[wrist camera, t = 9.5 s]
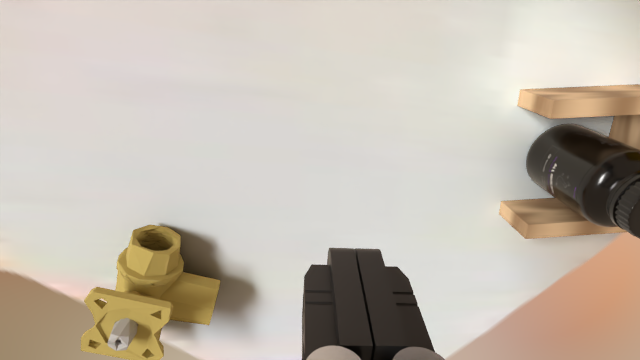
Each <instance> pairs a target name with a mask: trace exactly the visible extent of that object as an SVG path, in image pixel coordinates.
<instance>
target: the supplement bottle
mask: <svg viewBox="0 0 640 360" xmlns="http://www.w3.org/2000/svg"><path fill="white" fill-rule="evenodd" d="M526 167H527V172H528V174H529V176H530V178H531V179H532V180H533V181H534V182H535V183H536V184H537V185H539V186H540V187H541V188H543V189H544V190H545V191H547V192H548V193H550V194H551V195H552V196H554V197H555V198H557V199H558V200H559V201H561V202H562V203H564V204H565V205H567V206H568V207H569V208H571V209H572V210H574V211H575V212H576V213H578V214H579V215H581V216H582V217H583V218H585V219H586V220H588V221H590V222H591V223H593V224H596V225H598V226H603V227H620V228H621V229H623V230H626V231H627V232H629V233H630V234H632V235H634V236H636V237H638V238H640V150H639V149H637V148H634V147H632V146H629V145H627V144H625V143H622V142H620V141H617V140H615V139H612V138H610V137H607V136H605V135H602V134H600V133H597V132H595V131H593V130H590V129H588V128H585V127H582V126H579V125H576V124H562V125H558V126H555V127H552V128H550V129H548V130H547V131H545V132H544V133H542V134H541V135H540V136H539V137H538V138H537V139H536V140H535V141H534V143H533V144H532V146H531V148H530V150H529V152H528V155H527V160H526Z"/></svg>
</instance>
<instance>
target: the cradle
mask: <svg viewBox="0 0 640 360" xmlns="http://www.w3.org/2000/svg"><path fill="white" fill-rule="evenodd" d="M518 106H520V107H522V108H525V109H527V110H530V111H532V112H535V113H537V114H540V115H542V116H545V117H547V118H550V119H555V118H576V117H597V116H614V119H613V123H612V127H611V130H610V134H609V137H610V138H612V139H615V140H617V141H620V142H622V143H625V144H627V145H629V146H632V147H634V148H637V149H639V150H640V85H615V86H592V87H568V88H545V89H522V90H520V94H519V100H518ZM499 214H500V215H501V216H502V217H503V218H504V219H505V220H506V221H507V222H508V223H509V224H510V225H511V226H512V227H513V228H515V229H516V230H517V231H518V232H519V233H520V234H521V235H522V236H523V237H524V238H525V239H531V238H546V237H561V236H576V235H590V234H605V233H620V232H627V231H626V230H623V229H621V228H620V227H603V226H598V225H596V224H593V223H591V222H590V221H588V220H586V219H585V218H583V217H582V216H581V215H579V214H578V213H576V212H575V211H574V210H572V209H571V208H569V207H568V206H567V205H565V204H564V203H562V202H561V201H559V200H558V199H557V198H545V199H529V200H513V201H501V206H500V212H499Z"/></svg>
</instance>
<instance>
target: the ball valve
mask: <svg viewBox="0 0 640 360" xmlns="http://www.w3.org/2000/svg"><path fill="white" fill-rule="evenodd" d="M180 236H181V235H179V234H178V233H176V232H174V231H173V230H171V229H170V228H168V227H162V226H155V225H148V226H145V227H142V228H138V229H135V230H133V233H132V236H131V240H130V243H129V246H128V248H126V249H125V250H124V251H123V252H122V253H121V254H120V255H119V257H118V261H117V270H118V275H117V284H116V290H115V291H114V290H110V289H105V288H100V287H96V288H94V289H92V290H91V291H90V293H89V294H88V296H87V297H86V298H85V300H84V302H85V303H86V305H87V306H88V308H89V309H90V311H91V313H92V314H93V318H94V321H95V325H94V327H93V328H91V329H89V330H88V331H86V332H85V333H84V335H83V336H82V337H81V351H86V352H91V353H96V354H103V355H108V356H113V357H118V358H124V359H129V360H160V359H161V358H162V357H163V356H164V350H163V345H162V344H161V342H160V341H159V339H160V334H161V329H162V327H163V326H164V325H165V324H166V323H168V322H169V320H175V321H183V322H191V323H198V324H206V325H209V323H210V320H211V317H212V313H213V310H214V306H215V302H216V298H217V294H218V290H219V286H220V281H221V280H217V279H212V278H208V277H203V276H198V275H194V274H189V273H185V272H183V266H184V261H183V259H182V257H181V255H180V254H179V253H180ZM101 298H102V299H104V300H105V301H107V303H106V302H103V301H101V300H99V299H101Z"/></svg>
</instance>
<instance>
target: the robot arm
mask: <svg viewBox="0 0 640 360" xmlns="http://www.w3.org/2000/svg"><path fill="white" fill-rule="evenodd" d="M302 360H445V359H444V358H443V357H441V356H440V355H439V354H437V353H435V351H434V348H433V346H432V343H431V340H430V337H429V334H428V332H427V329H426V326H425V323H424V321H423V318H422V315H421V312H420V309H419V307H418V306H417V301H416V298H415V296H414V295H413V290H412V287H411V284H410V282H409V279H408V278H407V277H406V276H405V275H404V274H403V272H402V271H401V270H400V269H399V268H398V267H385V265H384V261H383V258H382V254H381V251H380V250H379V249H351V248H329V251H328V261H327V265H311V267H310V268H309V270H308V271H307V273H306V275H305V277H304V294H303V311H302Z"/></svg>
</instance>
